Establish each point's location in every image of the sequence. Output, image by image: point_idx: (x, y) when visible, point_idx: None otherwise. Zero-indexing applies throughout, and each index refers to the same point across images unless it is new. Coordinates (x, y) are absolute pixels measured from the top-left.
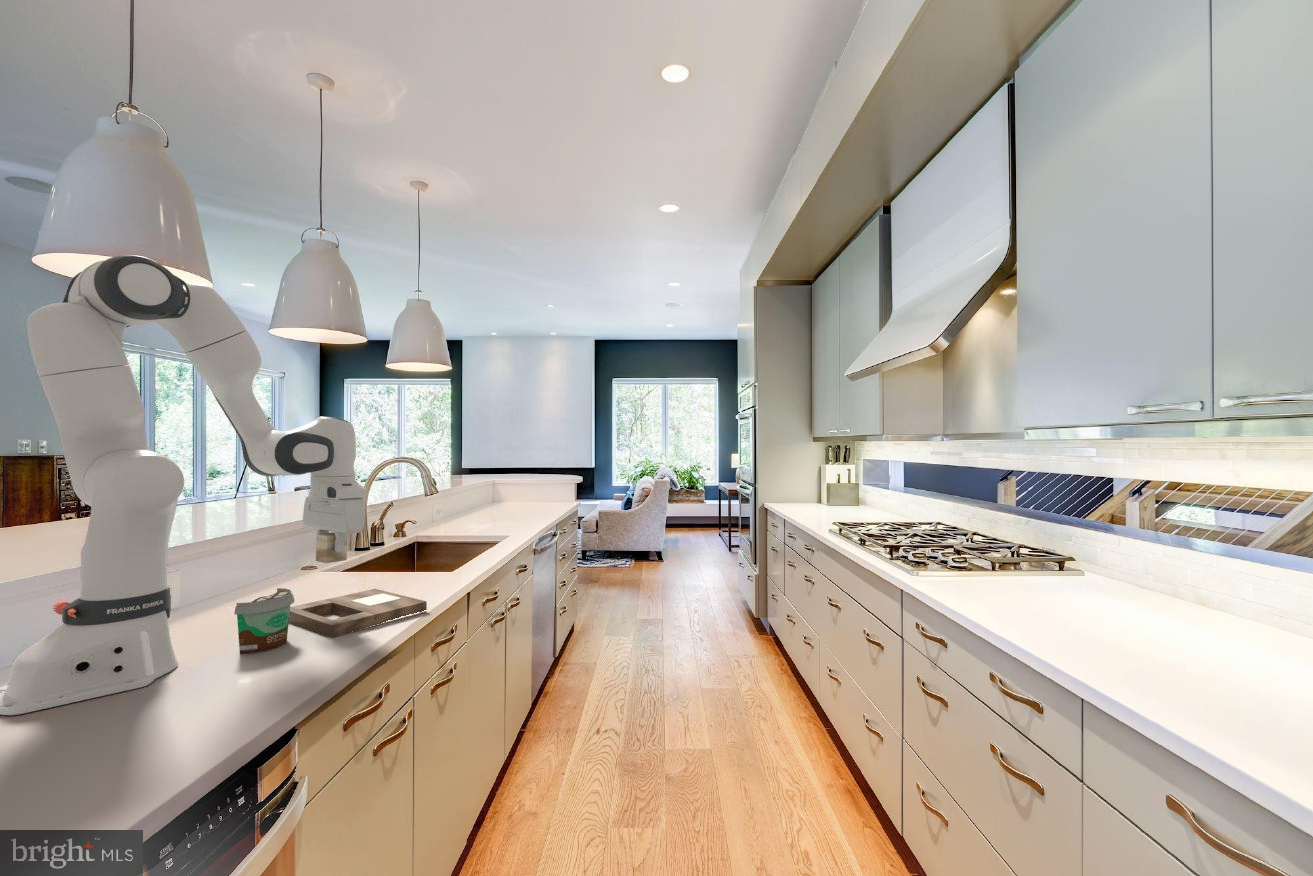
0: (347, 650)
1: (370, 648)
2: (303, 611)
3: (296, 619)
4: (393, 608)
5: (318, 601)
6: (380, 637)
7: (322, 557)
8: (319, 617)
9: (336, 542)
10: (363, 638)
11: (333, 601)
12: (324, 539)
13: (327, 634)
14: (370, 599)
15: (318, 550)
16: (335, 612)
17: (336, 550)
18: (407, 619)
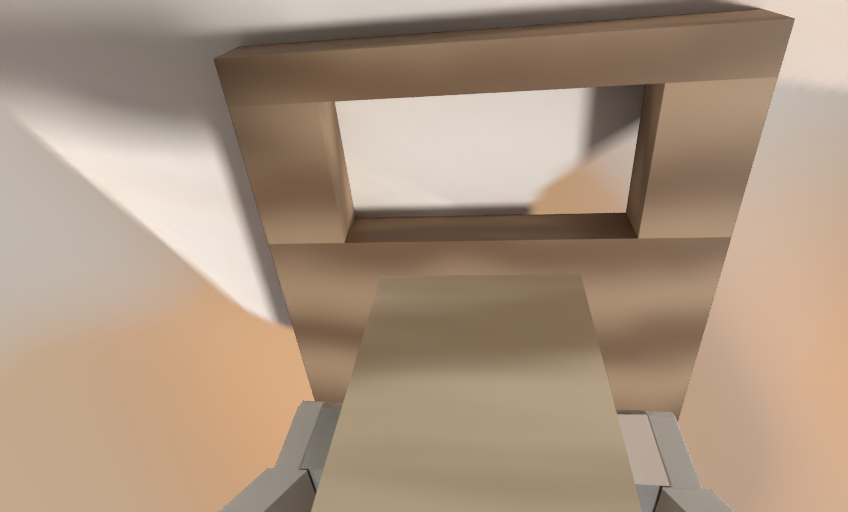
0: (20, 11)
1: (5, 83)
2: (603, 76)
3: (590, 25)
4: (308, 321)
5: (725, 210)
6: (126, 168)
7: (445, 305)
8: (406, 79)
9: (252, 487)
10: (149, 124)
11: (646, 249)
12: (383, 484)
13: (277, 45)
14: None
15: (542, 354)
16: (592, 217)
17: (298, 410)
18: (288, 317)
